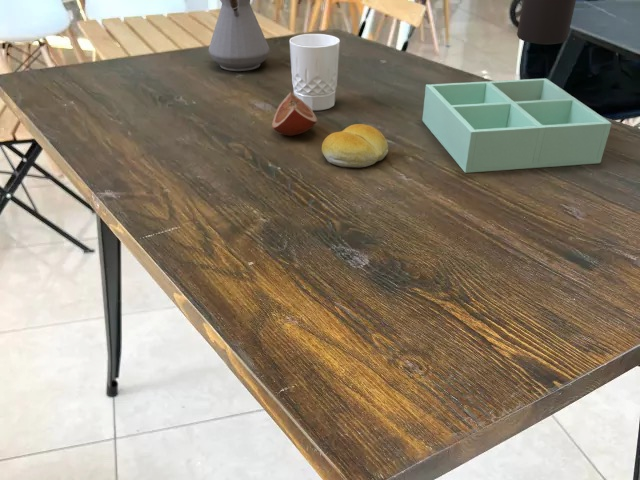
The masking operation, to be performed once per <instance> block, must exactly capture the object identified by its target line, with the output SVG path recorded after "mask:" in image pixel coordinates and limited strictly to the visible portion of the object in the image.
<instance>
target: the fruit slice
mask: <svg viewBox="0 0 640 480" xmlns="http://www.w3.org/2000/svg"><path fill="white" fill-rule="evenodd" d="M317 122H318V118H317V116H316V114H315V113H314V111H312V109H311V108H310V107H309V106H308V105H306V104H305V103H304V102H303V101H302V100H301V99H299V98H298V97H297V96H295V94H294V92H292V91H289V93H287V95H286V96H285V97H284V98H283V99H282V100H281V101H280V102H279V104H278V106H277V108H276V111H275V114H274V116H273V119H272V123H271V128H272V129H274V130H275V131H276V132H277V133H279V134H281V135H284V136H297V135H300V134H303V133H305V132H307V131H308V130H310V129H311V128H313V127H314V126H315V125H316V124H317Z"/></svg>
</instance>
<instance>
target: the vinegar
mask: <svg viewBox="0 0 640 480" xmlns="http://www.w3.org/2000/svg"><path fill="white" fill-rule="evenodd" d="M576 3H577V0H522V3H521V9H520V14H519V20H518V25H517V32H516V37H517V38H518V39H519V40H521V41H523V42H526V43H531V44H536V45H559V44H562V43H565V42H566V41H567V40H568V38H569V33H570V31H571V30H570V29H571V24H572V19H573V15H574V12H575V6H576Z"/></svg>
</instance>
